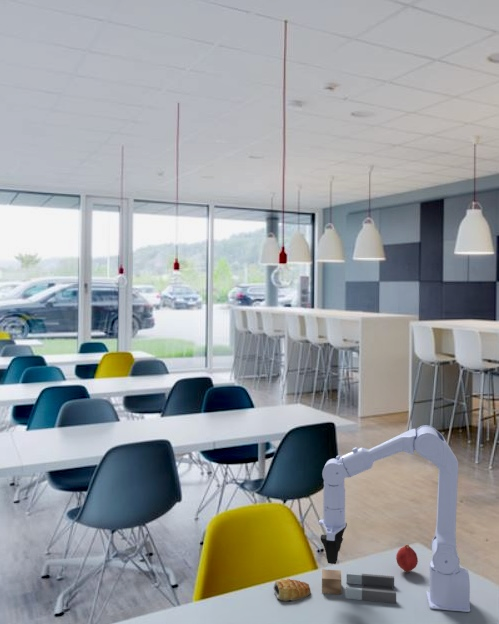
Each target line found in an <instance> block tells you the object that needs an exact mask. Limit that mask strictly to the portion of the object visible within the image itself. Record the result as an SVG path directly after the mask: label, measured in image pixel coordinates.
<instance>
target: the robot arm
mask: <svg viewBox="0 0 499 624" xmlns="http://www.w3.org/2000/svg"><path fill="white" fill-rule="evenodd" d="M415 451H416V453H417V454H418V456H420V457H421V458H423V459H426V460H428V461H430V462H432V464H434V466H435V467H437V468H438V472H437V473H438V475H437V476H438V478H437V497H436V498H437V500H436V501H437V502H436V524H435V530H434V536H433V538H432V540H431V542H430V549H431V552H432V559H431V561H430V562H429V590H426V598H427V601H428V606H429V609H432V610H443V611H453V612H463V613H469V612H471V609H470V607H471V606H470V604H471V601H470V598H471V594H470V593H471V592H470V591H471V590H470V589H471V587H470V586H471V585H470V584H471V583H470V574H469V570H468V569H467V568H464V567H460V565H461V564H460V557H459V555H458V550H457V536H456V529H457V528H456V527H457V506H458V505H457V503H458V482H459V481H458V479H459V461H458V458H457V456H456V455H455V453H454V452H453V449H451V447H450V445H449V444H448V442H447V441H446V438H445V436H444V435H443V434H442V433H441V432H440V431H438V430H437V429H436V428H435V427H433V426H431V425H421V426H419V427H417V428H411V429H409V430H407V431H404V432H401V434H398V435H397V436H394V437H392V438H391V439H390V438H389V439H388V440H387V441H384V442H381V443H380V444H378V445H375V446H374V447H371V448H369V449H368V448H365V447H359V448H358V447H357V446H356V447H354V448H352V449H351V451H350V452H348V453H345V454H343V455H340V454H339V455H336V457H335V458H330V459H328V460H327V461H326V463H325V465H324V467H323V469H322V473H321V475H322V476H321V477H322V479H323V493H322V496H323V498H322V499H323V500H322V506H323V508H322V514H323V515H322V518H323V519H319V521H318V525H320V526H322V527H323V529H324V531H325V532H326V534H321V535H320V541H321V544H322V545H323V548H324V551H325V555H326V556H325V557H326V560H327V564H331V565H336V564H337V562H338V556H339V552H340V551H341V547H342V543H343V540H344V538H343V536H344V532H345V531H346V528H347V527H348V523H347V522H346V488H345V487H346V486H345V479H346V478H351V477H354V476H357V475H359V474H362V473H363V472H366V471H368V470H370V469H372V468H373V465H374V462H376V461H379V460H382V459H385V458H387V457H390V456H392V455H396V454H398V453H401V452H405V453H407V454H411V455H415Z"/></svg>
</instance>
